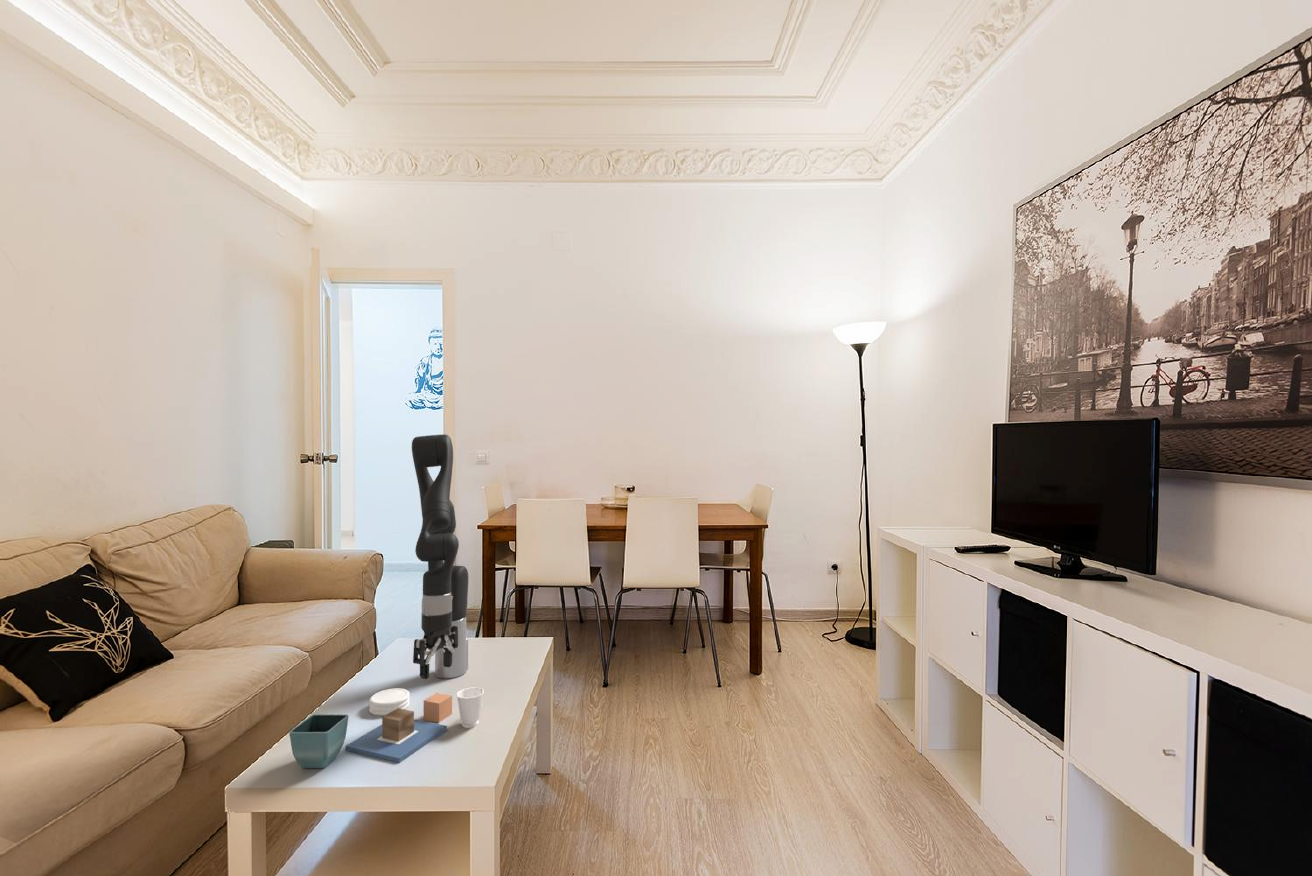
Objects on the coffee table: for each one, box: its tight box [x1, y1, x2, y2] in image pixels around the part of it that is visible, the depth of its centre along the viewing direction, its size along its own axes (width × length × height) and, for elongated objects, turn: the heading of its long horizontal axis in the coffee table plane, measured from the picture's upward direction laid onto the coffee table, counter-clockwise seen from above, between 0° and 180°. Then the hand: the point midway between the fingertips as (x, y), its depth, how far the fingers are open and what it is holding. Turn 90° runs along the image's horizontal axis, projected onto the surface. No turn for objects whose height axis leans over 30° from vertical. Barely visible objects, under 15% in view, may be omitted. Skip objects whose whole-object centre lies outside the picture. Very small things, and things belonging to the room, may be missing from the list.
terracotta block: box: [423, 692, 453, 724], centre depth 156 cm, size 5×5×5 cm
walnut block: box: [381, 708, 415, 742], centre depth 144 cm, size 5×5×5 cm
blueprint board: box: [344, 718, 448, 764], centre depth 144 cm, size 16×16×1 cm
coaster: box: [368, 687, 411, 717], centre depth 162 cm, size 10×10×4 cm
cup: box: [456, 686, 485, 729], centre depth 154 cm, size 7×10×8 cm
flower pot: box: [288, 713, 350, 769], centre depth 134 cm, size 9×9×9 cm
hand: (436, 672), depth 156 cm, fingers open, 8 cm apart
